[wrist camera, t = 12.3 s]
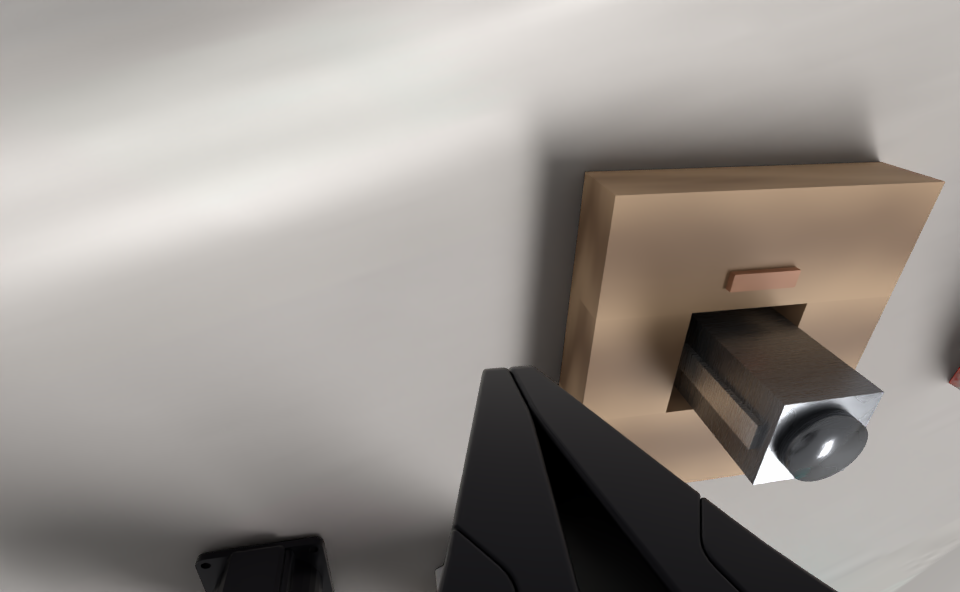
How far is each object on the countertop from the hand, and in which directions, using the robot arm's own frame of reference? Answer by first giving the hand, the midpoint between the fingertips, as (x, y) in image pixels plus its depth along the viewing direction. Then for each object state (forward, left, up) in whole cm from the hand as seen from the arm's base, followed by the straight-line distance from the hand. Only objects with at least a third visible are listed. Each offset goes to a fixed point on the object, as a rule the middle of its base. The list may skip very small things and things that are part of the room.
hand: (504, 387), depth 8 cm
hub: (-8, -13, -13) cm, 20 cm away
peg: (-8, -13, -13) cm, 20 cm away
